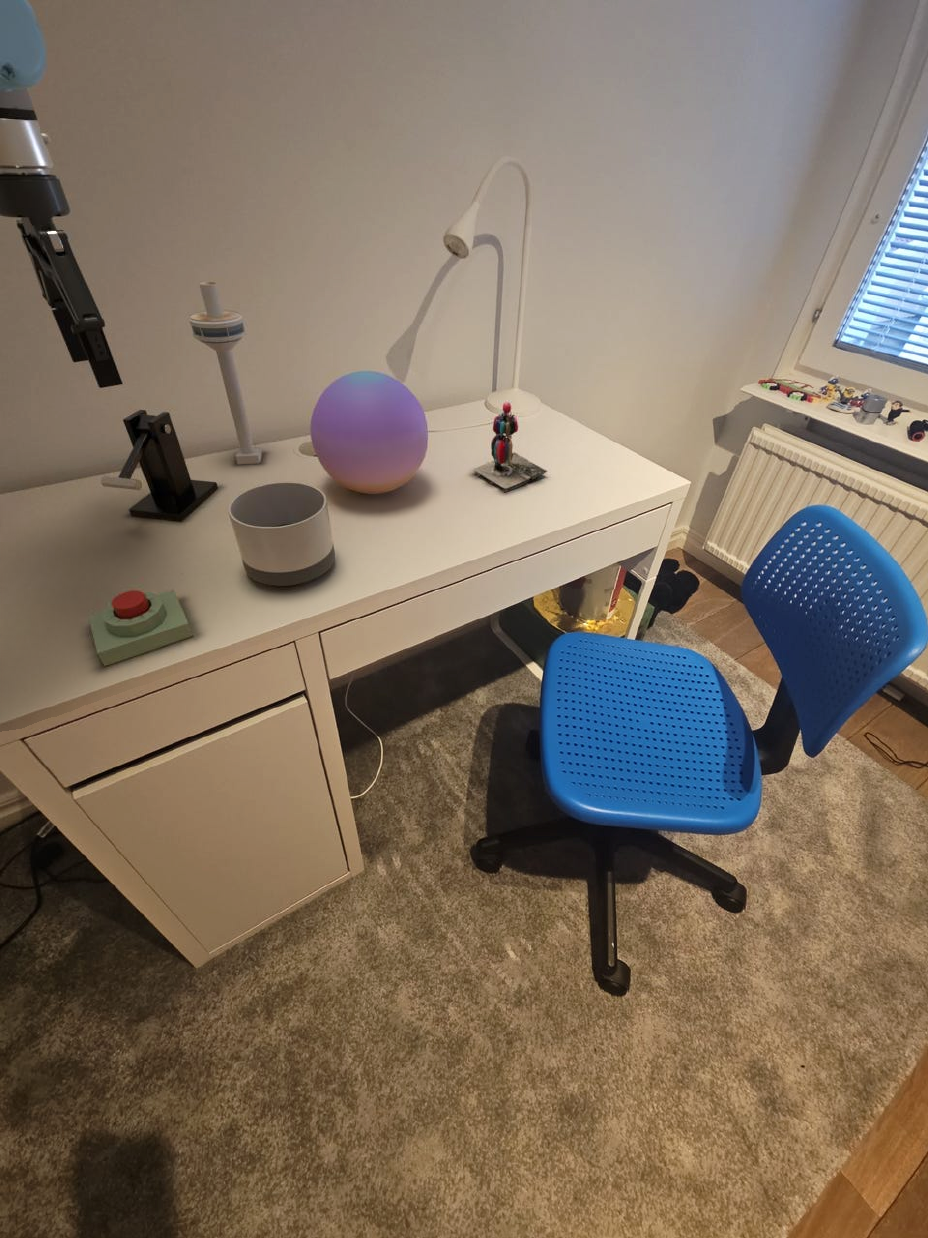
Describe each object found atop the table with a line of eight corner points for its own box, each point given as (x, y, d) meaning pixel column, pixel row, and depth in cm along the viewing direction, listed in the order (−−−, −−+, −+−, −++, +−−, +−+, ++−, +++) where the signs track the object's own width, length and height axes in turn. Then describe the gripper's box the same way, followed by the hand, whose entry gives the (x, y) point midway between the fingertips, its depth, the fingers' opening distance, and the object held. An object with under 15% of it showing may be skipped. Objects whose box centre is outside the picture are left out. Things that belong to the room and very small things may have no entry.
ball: (451, 488, 100) (453, 374, 87) (368, 527, 89) (356, 404, 76) (380, 455, 110) (372, 349, 97) (297, 487, 98) (275, 371, 85)
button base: (104, 666, 63) (90, 641, 61) (95, 628, 68) (81, 603, 66) (193, 636, 68) (183, 611, 65) (178, 602, 73) (169, 578, 70)
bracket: (181, 521, 88) (150, 433, 79) (131, 515, 89) (93, 427, 80) (218, 488, 97) (193, 405, 88) (171, 483, 98) (142, 400, 89)
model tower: (230, 451, 109) (185, 278, 89) (273, 449, 110) (237, 278, 91) (224, 469, 103) (174, 288, 83) (270, 467, 104) (231, 288, 85)
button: (119, 623, 64) (114, 612, 63) (114, 607, 66) (109, 596, 65) (152, 613, 65) (147, 602, 64) (146, 597, 68) (141, 586, 67)
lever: (141, 494, 81) (131, 483, 79) (107, 490, 81) (97, 480, 79) (173, 427, 86) (165, 416, 84) (142, 424, 87) (133, 413, 84)
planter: (244, 550, 83) (227, 487, 76) (329, 537, 86) (319, 476, 79) (248, 600, 73) (228, 534, 67) (342, 584, 77) (333, 520, 70)
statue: (505, 498, 100) (505, 421, 90) (473, 478, 106) (469, 403, 95) (547, 476, 105) (552, 400, 94) (514, 458, 110) (515, 384, 99)
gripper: (84, 177, 55) (155, 391, 69) (33, 167, 69) (101, 347, 83) (-4, 176, 51) (90, 403, 65) (-39, 166, 65) (45, 355, 79)
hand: (96, 372), depth 74 cm, fingers open, 13 cm apart
